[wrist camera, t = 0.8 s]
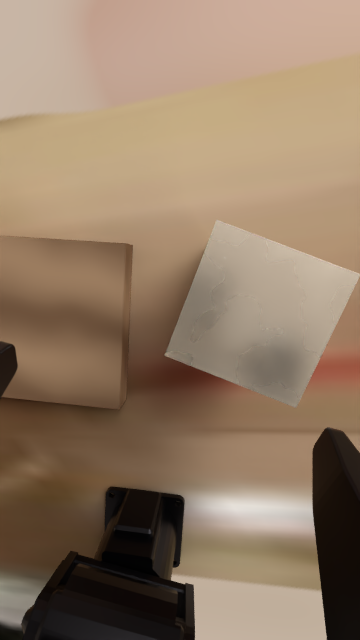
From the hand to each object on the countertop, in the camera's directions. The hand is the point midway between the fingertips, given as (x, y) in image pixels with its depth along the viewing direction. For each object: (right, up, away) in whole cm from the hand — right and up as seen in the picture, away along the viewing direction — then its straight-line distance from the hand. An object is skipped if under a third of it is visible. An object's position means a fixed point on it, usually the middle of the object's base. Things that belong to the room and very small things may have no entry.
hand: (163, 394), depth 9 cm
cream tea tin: (+5, +4, +15) cm, 16 cm away
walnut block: (-9, +2, +17) cm, 19 cm away
